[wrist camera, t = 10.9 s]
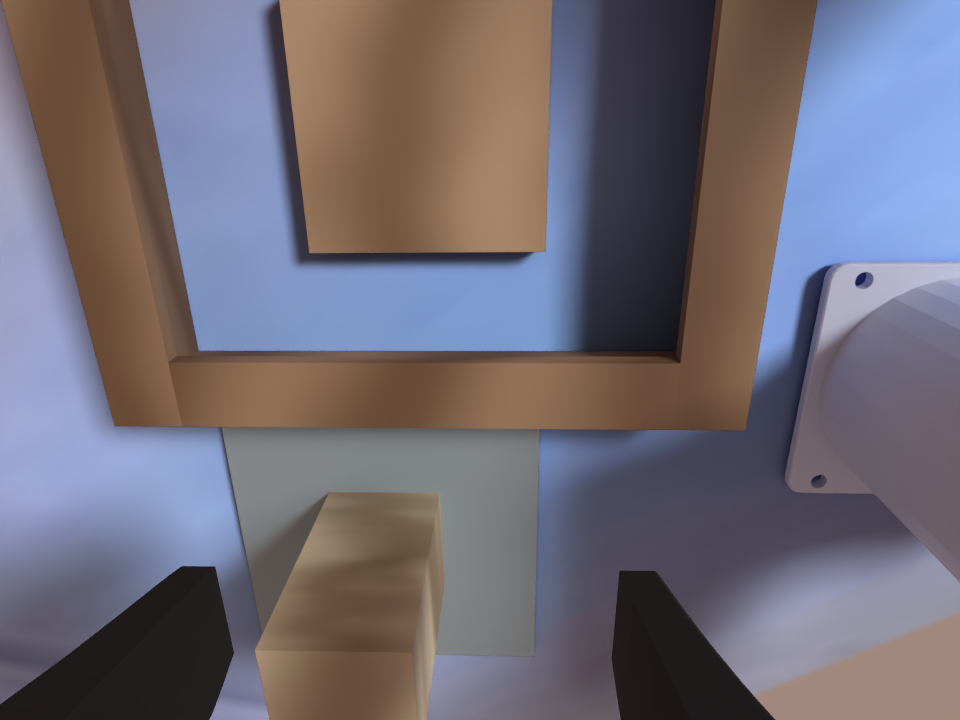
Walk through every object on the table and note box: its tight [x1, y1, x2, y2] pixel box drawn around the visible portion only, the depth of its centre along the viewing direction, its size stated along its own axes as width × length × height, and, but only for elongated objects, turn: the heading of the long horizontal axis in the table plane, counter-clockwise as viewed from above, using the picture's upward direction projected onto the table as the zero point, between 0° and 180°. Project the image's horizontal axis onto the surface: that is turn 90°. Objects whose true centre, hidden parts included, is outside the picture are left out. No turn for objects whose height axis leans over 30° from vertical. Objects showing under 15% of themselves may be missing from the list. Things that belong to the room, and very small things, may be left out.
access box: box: [1, 0, 817, 430], centre depth 16 cm, size 18×16×4 cm
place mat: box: [222, 427, 540, 657], centre depth 23 cm, size 11×11×1 cm
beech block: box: [255, 492, 445, 720], centre depth 19 cm, size 4×4×7 cm
